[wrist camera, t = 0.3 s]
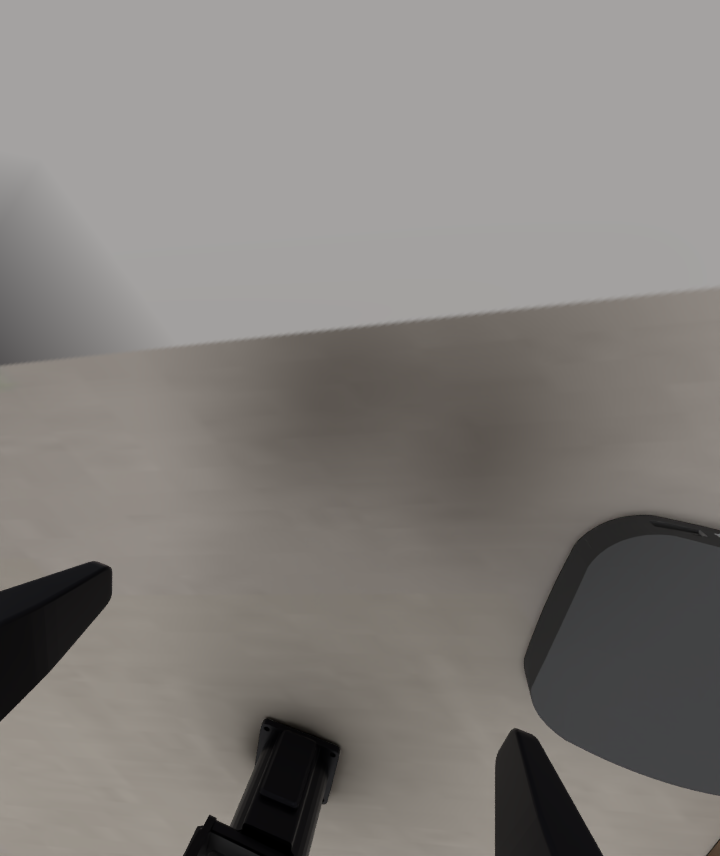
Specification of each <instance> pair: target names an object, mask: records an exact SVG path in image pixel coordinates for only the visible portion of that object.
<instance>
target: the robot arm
mask: <svg viewBox="0 0 720 856" xmlns="http://www.w3.org/2000/svg"><path fill="white" fill-rule="evenodd" d="M111 595H112V569H111V567H109V566H107V565H105V564H102V563H100V562H96V561H92V562H88V563H85V564H82V565H79V566H76V567H73V568H70V569H67V570H64V571H61V572H57V573H54V574H51V575H48V576H45V577H42V578H39V579H36V580H33V581H30V582H27V583H24V584H21V585H18V586H15V587H12V588H9V589H6V590H3V591H0V721H1V720H2V719H3V718H4V717H5V716H6V715H7V714H8V713H9V712H10V711H11V710H12V709H13V708H14V707H15V706H16V705H17V704H18V703H19V702H20V701H21V700H22V699H23V698H24V697H25V696H26V695H27V694H28V693H29V692H30V691H31V690H32V689H33V688H34V687H35V686H36V685H37V684H38V683H39V682H40V681H41V680H42V679H43V678H44V677H45V676H46V675H47V674H48V673H49V672H50V671H51V669H52V668H53V667H54V666H55V665H56V664H57V663H58V662H59V661H60V659H61V658H62V657H63V656H64V655H65V653H66V652H67V651H68V650H69V649H70V648H71V646H72V645H73V644H74V643H75V642H76V641H77V639H78V638H79V637H80V636H81V635H82V634H83V632H84V631H85V630H86V629H87V628H88V627H89V625H90V624H91V623H92V622H93V621H94V619H95V618H96V617H97V616H98V615H99V614H100V612H101V611H102V610H103V609H104V608H105V607H106V605H107V604H108V602H109V601H110V598H111ZM339 754H340V749H339V747H338V746H336V745H334V744H331V743H329V742H326V741H324V740H321V739H319V738H316V737H313V736H311V735H308V734H306V733H303V732H301V731H298V730H295V729H293V728H290V727H288V726H285V725H283V724H280V723H277V722H275V721H272V720H270V719H265V720H264V721H263V723H262V726H261V730H260V736H259V743H258V749H257V756H256V762H255V768H254V770H253V773H252V775H251V777H250V780H249V782H248V784H247V787H246V789H245V792H244V794H243V796H242V799H241V801H240V803H239V806H238V808H237V810H236V813H235V815H234V817H233V820H232V822H231V824H230V826H228V825H226V824H223V823H221V822H219V821H217V820H216V819H217V818H215V817H213V816H211V815H209V817H208V818H207V820H206V822H205V824H204V826H197V828H196V831H195V833H194V835H193V837H192V839H191V841H190V843H189V845H188V847H187V849H186V851H185V853H184V855H183V856H309V852H310V848H311V844H312V840H313V836H314V832H315V828H316V824H317V820H318V816H319V812H320V808H321V804H326V803H327V801H328V797H329V793H330V789H331V786H332V782H333V778H334V774H335V770H336V766H337V762H338V758H339ZM495 856H603V854H602V853H601V851H600V849H599V847H598V846H597V844H596V842H595V840H594V838H593V837H592V835H591V833H590V831H589V830H588V828H587V826H586V824H585V822H584V821H583V819H582V817H581V815H580V813H579V812H578V810H577V808H576V806H575V805H574V803H573V801H572V799H571V797H570V796H569V794H568V792H567V790H566V789H565V787H564V785H563V783H562V781H561V780H560V778H559V776H558V774H557V773H556V771H555V769H554V767H553V765H552V764H551V762H550V760H549V758H548V756H547V755H546V753H545V751H544V749H543V748H542V746H541V744H540V742H539V741H538V739H537V738H536V737H535V736H533V735H532V734H530V733H527V732H525V731H522V730H519V729H517V728H514V729H512V730H511V731H510V733H509V734H508V736H507V738H506V739H505V741H504V743H503V745H502V746H501V748H500V750H499V751H498V754H497V757H496V763H495Z"/></svg>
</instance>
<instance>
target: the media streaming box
mask: <svg viewBox="0 0 720 856" xmlns="http://www.w3.org/2000/svg"><path fill="white" fill-rule="evenodd" d="M524 669H525V674H526V678H527V682H528V686H529V690H530V695H531V699H532V702H533V705H534V708H535V710H536V711H537V713H538V715H539V716H540V717H541V719H542V720H543V721H544V722H545V723H546V724H547V725H548V726H549V727H550V728H551V729H552V730H553V731H554V732H555V733H557V734H558V735H559V736H560V737H562V738H563V739H565V740H566V741H568V742H570V743H572V744H574V745H576V746H578V747H580V748H582V749H584V750H586V751H588V752H590V753H592V754H594V755H596V756H599V757H601V758H603V759H605V760H607V761H610V762H612V763H614V764H617V765H619V766H621V767H624V768H626V769H629V770H631V771H634V772H637V773H639V774H642V775H645V776H648V777H650V778H653V779H657V780H660V781H663V782H666V783H669V784H672V785H676V786H679V787H683V788H687V789H691V790H695V791H699V792H703V793H708V794H713V795H718V796H720V531H719V530H715V529H711V528H707V527H703V526H698V525H694V524H690V523H685V522H681V521H676V520H671V519H667V518H662V517H657V516H650V515H637V516H628V517H622V518H618V519H614V520H611V521H609V522H606V523H604V524H601V525H599V526H598V527H596V528H594V529H592V530H591V531H589V532H588V533H587V534H586V535H584V536H583V537H582V538H581V539H580V540H579V541H578V542H577V543H576V545H575V546H574V548H573V549H572V551H571V553H570V555H569V557H568V559H567V561H566V563H565V565H564V567H563V569H562V571H561V573H560V575H559V577H558V579H557V581H556V583H555V585H554V587H553V589H552V591H551V593H550V596H549V598H548V600H547V602H546V604H545V607H544V609H543V611H542V614H541V616H540V618H539V621H538V623H537V626H536V628H535V631H534V633H533V636H532V639H531V641H530V644H529V647H528V650H527V653H526V656H525V658H524Z"/></svg>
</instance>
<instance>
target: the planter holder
mask: <svg viewBox="0 0 720 856" xmlns="http://www.w3.org/2000/svg"><path fill="white" fill-rule="evenodd" d="M707 856H720V840H719V842H718V843H717V844H716V845H715V847H714V848H713V849H712V850H711V852H710V853H709V854H708V855H707Z"/></svg>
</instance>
